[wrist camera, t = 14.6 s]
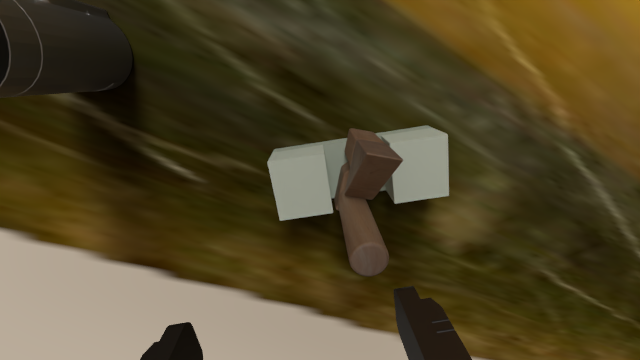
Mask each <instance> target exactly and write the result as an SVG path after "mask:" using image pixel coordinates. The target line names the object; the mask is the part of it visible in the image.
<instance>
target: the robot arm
mask: <svg viewBox="0 0 640 360" xmlns="http://www.w3.org/2000/svg"><path fill="white" fill-rule="evenodd" d="M132 60H133V58H132V51H131V48H130V45H129V42H128V40H127V38H126V37H125V35H124V34H123V32H122V31H121V30H120V28H119V27H118V26H116V25H115V24H114V23H113V22H112V21H111V20H110V19H109V17H108V15H107V12H106V10H105V9H101V8H98V7H95V6H92V5H89V4H86V3H83V2H79V1H76V0H0V98H2V97H16V96H30V95H45V94H59V93H73V92H86V91H102V90H110V89H113V88H116V87H118V86H120V85H121V84H122V83H123V82H124V81H125V80H126V79H127V78H128V76H129V74H130V72H131V68H132ZM394 299H395V310H396V320H397V326H398V330H399V334H400V337H401V340H402V343H403V345H404V348H405V351H406V353H407V356H408V359H409V360H472V359H471V357H470V355H469V353H468V352H467V350H466V348H465V346H464V345H463V343H462V341H461V340H460V338H459V336H458V334H457V333H456V331H455V330H454V327H453V326H452V324H451V322H450V321H449V319H448V317H447V315H446V314H445V312H444V310H443V308H442V307H441V306H440V305H439V304H437V303H436V302H435V301H434V300H433V299H431V298H426V299H420V298H419V296H418V294H417V292H416V290H415V288H414V287H413V286H410V287H404V288H398V289H394ZM140 360H203V353H202V349H201V347H200V344H199V341H198V339H197V336H196V334H195V331H194V329H193V326H192V324H191V323H189V322H186V323H180V324H175V325H169V326H168V327H167V328H166V330H165V332H164V334H163V335H162V337H161V339H160V341H159V342H154V343H153V345H152V346H151V347H150V348H149V349H148V350H147V351H146V352H145V353H144V354H143V355H142V357H141V359H140Z"/></svg>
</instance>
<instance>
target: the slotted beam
mask: <svg viewBox="0 0 640 360" xmlns="http://www.w3.org/2000/svg"><path fill="white" fill-rule="evenodd" d="M376 135H377V136H378V137H379V138H380V139H381V140H382V141H383V142H384V143H385V144H387V145H388V146H389V147H390V148H391V149H393V150H394V151H395V152H396V153H397V154H398V155H399V156H400V157H401V158H402V159H403V162H402V163H401V164H400V165H399V167H398V168H397V169H396V171H395V172H394V173H393V174H392V176H391V177H390V178H389V179H388V181H387V182H386V183H385V185H384V186H383V187H382V188H381V190H380V191H384V190H386V191H387V193H388V194H389V196H390V197H391V199H392V200H393V202H394V204H397V203H403V202H410V201H417V200H423V199H430V198H437V197H444V196H449V173H448V134H446V133H443V132H441V131H439V130H436V129H434V128H432V127H430V126H421V127H414V128H408V129H402V130H395V131H389V132H382V133H376ZM346 141H347V138H344V139H337V140H331V141H325V142H318V143H312V144H305V145H299V146H292V147H286V148H280V149H274V151H273V153H272V155H271V156H270V158H269V160H268V162H267V163H268V167H269V172H270V177H271V181H272V186H273V190H274V195H275V200H276V204H277V209H278V214H279V218H280V221H283V220H289V219H296V218H303V217H309V216H316V215H323V214H330V213H333V208H332V201H331V198H335V193H336V188H337V184H338V179H339V174H340V170H341V166H342V165H344V164H345V163H347V162H348V160H347V157H346V155H345V152H344V151H345V146H346Z"/></svg>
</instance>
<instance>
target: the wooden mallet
mask: <svg viewBox="0 0 640 360" xmlns="http://www.w3.org/2000/svg"><path fill="white" fill-rule="evenodd" d="M344 152H345V155H346V157H347V160H348V162H347V163H345V164H344V165H342V166H341V170H340V174H339V179H338V184H337V188H336V193H335V198H334V202H335V208H336V210H338V211H339V212H340V217H341V222H342V227H343V232H344V237H345V242H346V248H347V253H348V258H349V262H350V266H351V267H352V269H353V270H354V271H355V272H357V273H358V274H360V275H363V276H374V275H377V274H379V273H381V272H382V271H383V270H384V269H385V268H386V266H387V264H388V260H389V255H388V251H387V248H386V246H385V244H384V241H383V239H382V237H381V234H380V232H379V230H378V227H377V225H376V223H375V220H374V218H373V216H372V213H371V211H370V209H369V206H368V204H367V201H366V199H369V200H373V199H374V197H375V196H376V195H377V194H378V192H379V191H380V190H381V188H382V187H383V186H384V185H385V183H386V182H387V181H388V179H389V178H390V177H391V176H392V174H393V173H394V172H395V171H396V169H397V168H398V167H399V165H400V164H401V163H402V162H403V159H402V158H401V157H400V156H399V155H398V154H397V153H396V152H395V151H394V150H393V149H391V148H390V147H389V146H388V145H387V144H385V143H384V142H383V141H382V140H381V139H380V138H379V137H378V136H377V135H376V134H375V133H373V132H369V131H364V130H358V129H353V128H351V129H350V130H349V132H348V137H347V141H346V146H345V151H344Z"/></svg>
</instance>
